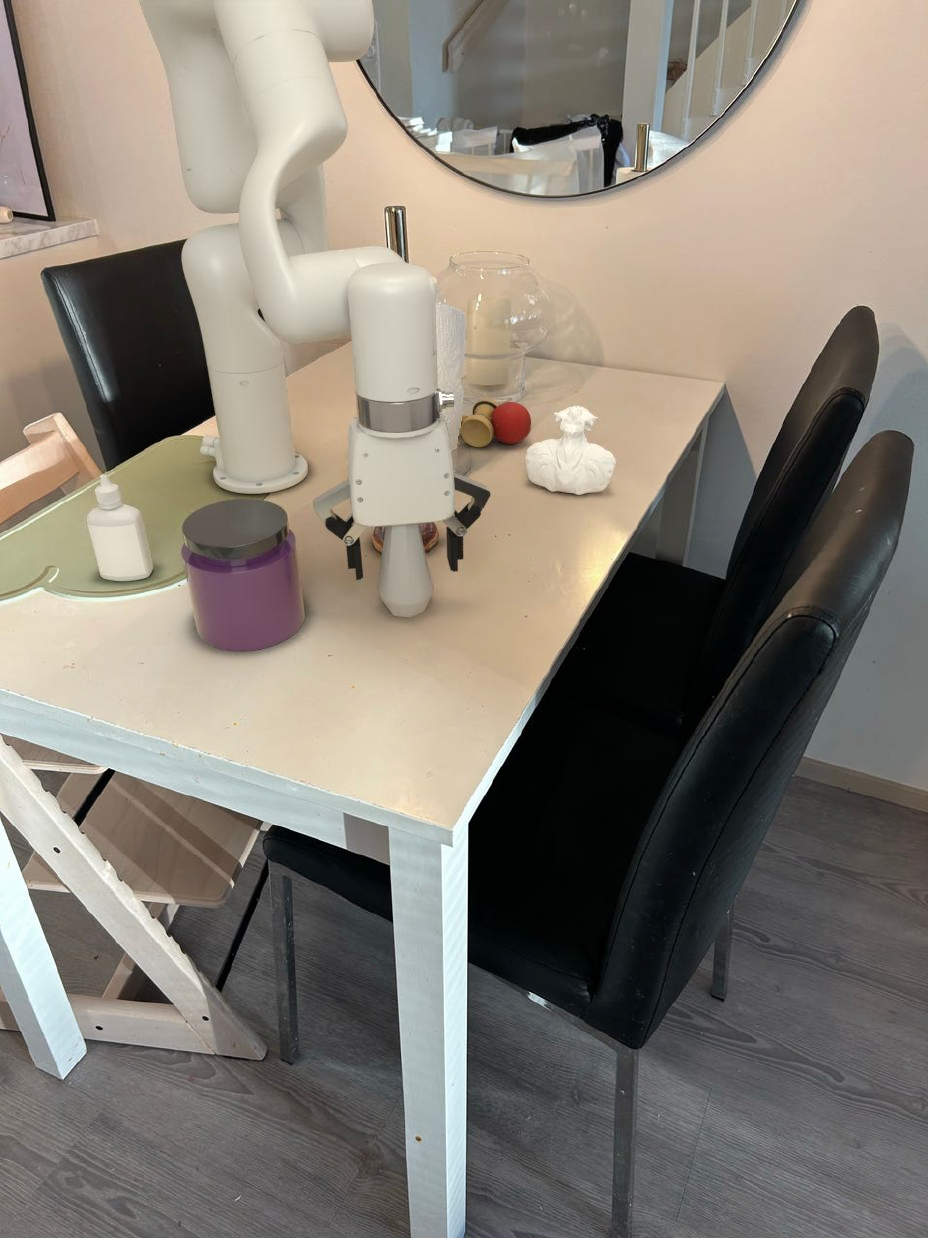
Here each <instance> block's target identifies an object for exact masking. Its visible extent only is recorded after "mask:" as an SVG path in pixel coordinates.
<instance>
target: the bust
mask: <svg viewBox="0 0 928 1238" xmlns="http://www.w3.org/2000/svg"><path fill="white" fill-rule="evenodd" d="M552 416H553V417H554V422H555V423H559V421H560V424H559V430H560V431H561V432H562V434H561V436H560V438H558V439H557V438H556V439H555V438H548V439H545V440H542V441H537V442H535V443H532V444H531V445H530V446H528V447H527V449H526V451H525V458H524V464H525V471H526V475H527V477H528V479H529V480H530V482H531V483H532V484H534V485H537V486H540V487H543V488H545V489H546V490H548V491H549V492H552V493H553V492H561V493H568V494H574V495H577V496H581V495H584V494H589V493H601V492H603V491H605V490H606V489H607V488H608V486H609V484H610V482H611V480H612V478H613V475H614V473H615V468H616V466H617V460H616V457H615V456H614V455H613V453H612V452H611V451H609V450H607V449H605V448H604V447H602V446H601V445H599V444H597V443H595V442H593V443H591V442H590V443H589V442H588V439H587V437H586V434H585V431H587V432H592V427H593V426H594V424H595V423H596V422H597V421H598V420H599V417H598V416H595V415H594V414H593V413H591V412H590V411H589V410H588V409H587V408H586V407H584V406H580V405H579V404H577V405H573V406H568V407H567V408H565V409H563V410H560V411H558V412H556V411H554V412H552Z"/></svg>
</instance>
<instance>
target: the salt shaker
mask: <svg viewBox="0 0 928 1238" xmlns="http://www.w3.org/2000/svg"><path fill="white" fill-rule="evenodd" d="M376 587H377V592H378V595H379V597H380V600H381V601H382V602H383V603H384V605H385V607H386V608H387V609H388V611H389V612H390V614H392V616H394V617H401V618H413V617H416V616H417V615H419V614H422V613H424V612H425V611H426V609H427V607H428V604H429V602H430V600H431V597H432V595H433V592H434V588H435V586H434V584H433V579H432V574H431V571H430V567H429V562H428V558H427V554H426V552H425V550H424V546H423V541H422V537H421V532H420V528H419V524H402V525H395V526H386V529H385V536H384V543H383V550H382V553H381V557H380V566H379V573H378V579H377V586H376Z"/></svg>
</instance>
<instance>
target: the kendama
mask: <svg viewBox="0 0 928 1238" xmlns="http://www.w3.org/2000/svg"><path fill="white" fill-rule="evenodd" d="M473 405H474V406H473V408H472V414H471V415H464V414H463V415H462V414H461V415H462V421H461V428H459V429H460V430H459V431H460V432H459V433H460V437H461V438H462V439H463V441H464V442H465V443H466V444H468V445H469V446H471V447H473V448H483V447H486V446H487V445H489V444H490V443H491V441H492V439H493V437H495V439H496V440H498V441H499V442H501V443H503V444H507V445H516V444H519V443H521V442H522V441H524V440H525V439H526V438H528V436H529V434H530V433H531V431H532V428H531V427H532V418H531V414H530V412H529V410H528V409H527V408H526V407H525V406H524V405H523V404H521V403H519V402H516V401H506V402H503V403H501V404H500V403H499V402H497V401H496V400H494V399H492V398H488V397H483V398H481V399H479V400H477V401H476V402H475V404H473Z"/></svg>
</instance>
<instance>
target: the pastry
mask: <svg viewBox="0 0 928 1238" xmlns="http://www.w3.org/2000/svg"><path fill="white" fill-rule="evenodd" d="M419 528H420V532H421V537H422V541H423V546H424V550H425V553H426V552H428V551H430V550H431V549H432V548H434V546H435V545H437V544H438V543H439V536H440V533H439V530H438V527H437V525H436V522H431V523H419ZM385 529H386V526H381V527H374V530H373V533H372V535H371V541H372V543H373V546H374V548H375V550H376V551H377V552H380V554H382V550H383V543H384V536H385Z"/></svg>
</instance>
